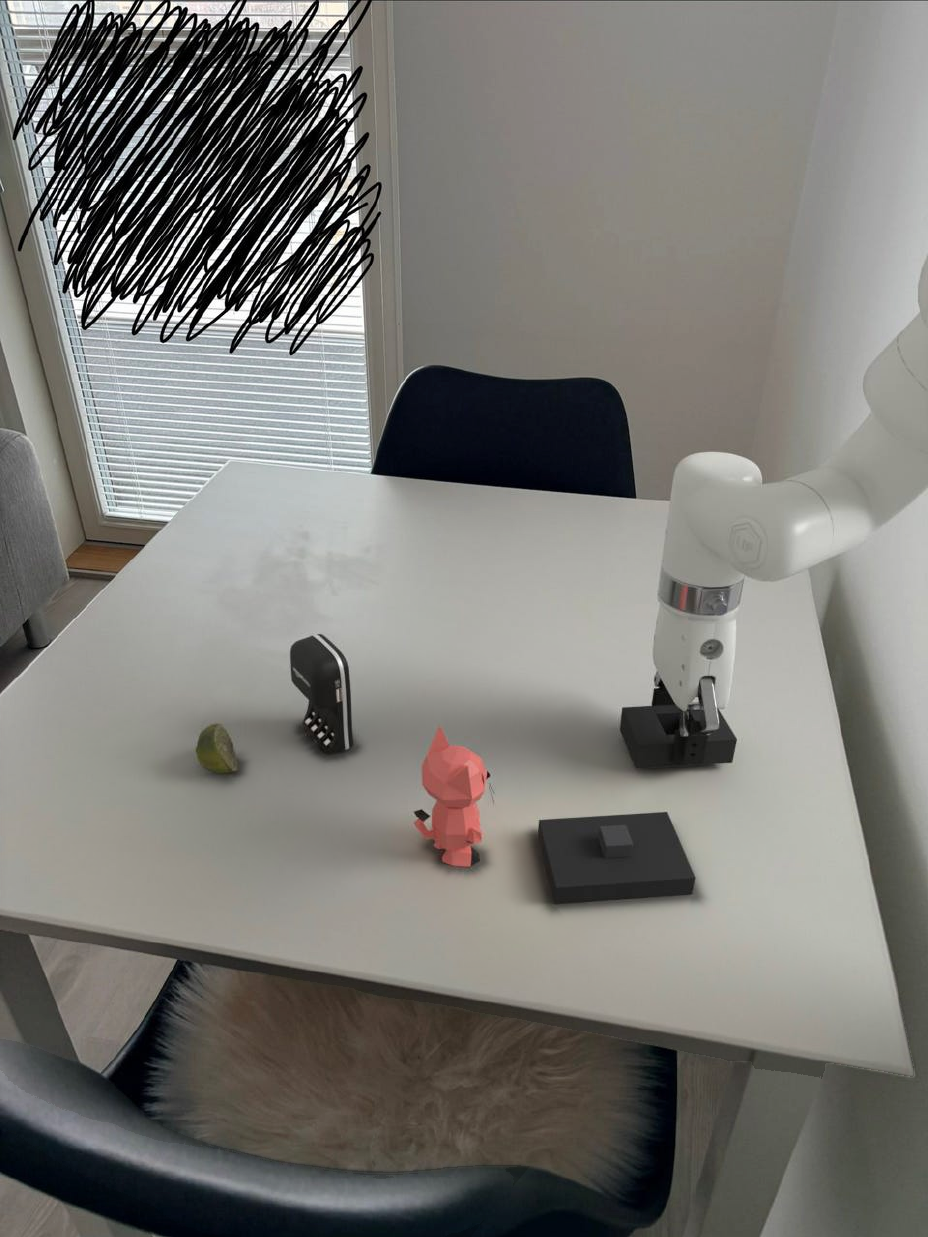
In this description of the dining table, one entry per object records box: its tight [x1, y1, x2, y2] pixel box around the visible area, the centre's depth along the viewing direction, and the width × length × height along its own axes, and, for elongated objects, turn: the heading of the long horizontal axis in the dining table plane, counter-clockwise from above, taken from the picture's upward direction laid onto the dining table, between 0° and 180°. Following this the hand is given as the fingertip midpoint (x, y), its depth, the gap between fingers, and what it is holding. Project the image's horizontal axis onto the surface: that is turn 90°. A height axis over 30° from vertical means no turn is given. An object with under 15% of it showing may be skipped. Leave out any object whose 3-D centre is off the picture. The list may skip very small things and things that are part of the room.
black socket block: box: [619, 705, 738, 770], centre depth 90 cm, size 10×6×3 cm, turn 96°
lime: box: [195, 723, 238, 774], centre depth 86 cm, size 4×5×5 cm
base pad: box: [537, 811, 696, 905], centre depth 77 cm, size 12×8×4 cm, turn 96°
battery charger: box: [289, 633, 354, 754], centre depth 89 cm, size 7×4×11 cm, turn 36°
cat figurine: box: [413, 723, 495, 868], centre depth 76 cm, size 7×7×12 cm
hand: (675, 739), depth 90 cm, fingers closed on black socket block, 6 cm apart
